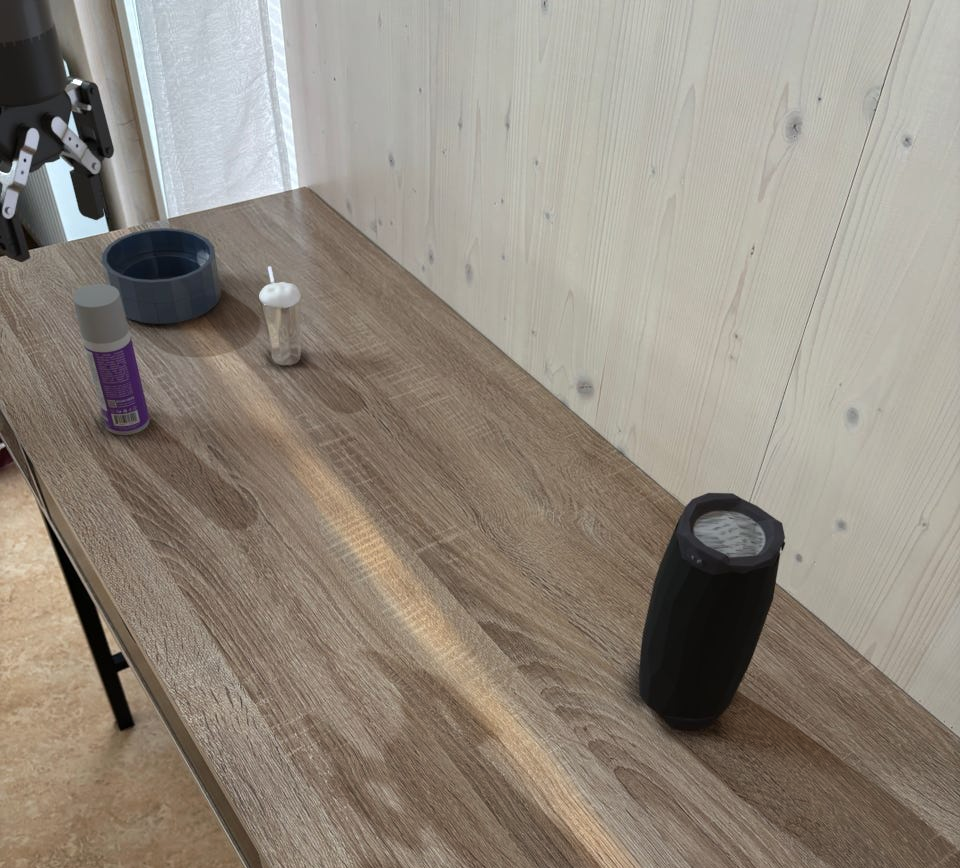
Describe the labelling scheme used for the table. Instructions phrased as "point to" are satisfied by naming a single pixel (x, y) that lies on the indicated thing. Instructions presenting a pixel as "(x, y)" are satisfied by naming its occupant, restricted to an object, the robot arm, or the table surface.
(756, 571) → the portable speaker
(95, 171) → the robot arm
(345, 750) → the table surface
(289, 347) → the milkshake
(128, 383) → the container
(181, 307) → the bowl
